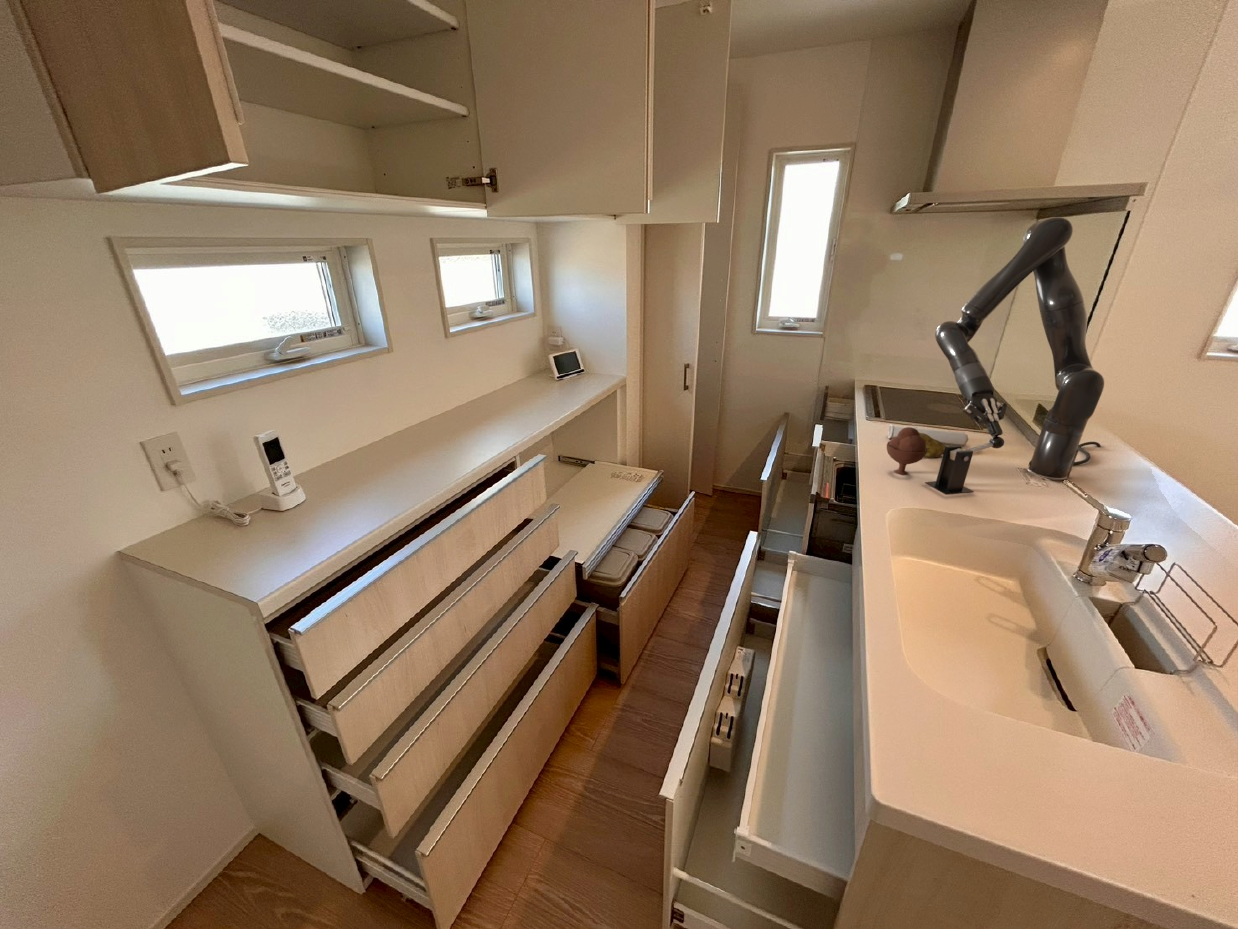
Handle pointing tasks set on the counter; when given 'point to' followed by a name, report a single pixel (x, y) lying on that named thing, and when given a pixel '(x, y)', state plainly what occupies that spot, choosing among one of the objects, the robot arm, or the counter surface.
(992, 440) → the lever
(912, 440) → the ice cream bowl
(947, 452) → the upright post with base
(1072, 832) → the counter surface
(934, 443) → the pear
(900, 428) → the tube
